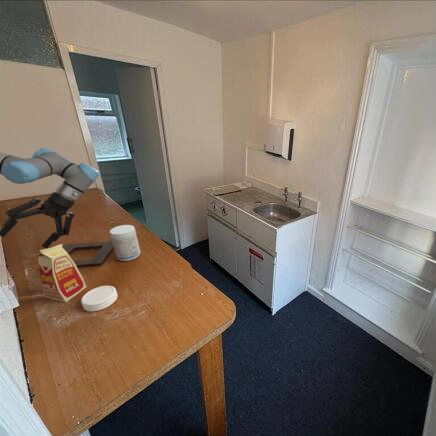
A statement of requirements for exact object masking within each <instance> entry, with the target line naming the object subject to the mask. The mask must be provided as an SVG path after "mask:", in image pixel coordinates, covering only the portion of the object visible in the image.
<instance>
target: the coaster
mask: <svg viewBox="0 0 436 436" xmlns="http://www.w3.org/2000/svg"><path fill="white" fill-rule="evenodd" d="M117 300H118V292H117V289H116V287H114V286H112V285H101V286H97V287H94V288H92V289H91V290H88V291H87V292H86V293H85V294H84V295H82V297H81V299H80V303H81V306H82V308H83V310H84V311H86V312H98V311H102V310H105V309H107V308H109V307H110V306H112V305H113V304H114V303H116V301H117Z"/></svg>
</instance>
